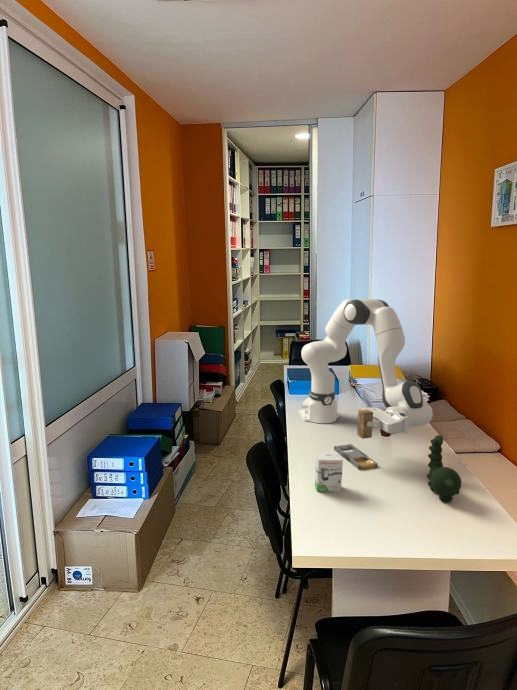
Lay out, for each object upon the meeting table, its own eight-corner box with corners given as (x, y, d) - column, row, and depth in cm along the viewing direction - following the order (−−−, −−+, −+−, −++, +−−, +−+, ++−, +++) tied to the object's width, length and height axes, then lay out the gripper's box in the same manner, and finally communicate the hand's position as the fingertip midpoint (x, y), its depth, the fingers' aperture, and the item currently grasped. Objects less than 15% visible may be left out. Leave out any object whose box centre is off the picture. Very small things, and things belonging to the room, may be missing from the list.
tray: (334, 449, 207) (334, 446, 207) (351, 447, 210) (351, 444, 209) (358, 469, 188) (359, 466, 188) (377, 467, 191) (377, 463, 191)
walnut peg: (357, 435, 192) (358, 410, 191) (366, 433, 194) (367, 409, 192) (362, 438, 189) (363, 413, 187) (371, 437, 190) (373, 412, 188)
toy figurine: (419, 480, 184) (435, 509, 159) (422, 430, 182) (439, 451, 157) (446, 482, 183) (466, 511, 158) (449, 432, 181) (470, 453, 156)
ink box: (316, 492, 171) (317, 459, 169) (314, 485, 176) (315, 453, 173) (341, 492, 171) (343, 459, 169) (339, 485, 176) (340, 453, 174)
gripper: (380, 402, 203) (349, 405, 199) (410, 418, 184) (378, 422, 180) (379, 417, 205) (349, 420, 200) (409, 434, 186) (377, 438, 181)
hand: (363, 421), depth 190 cm, fingers closed on walnut peg, 4 cm apart
